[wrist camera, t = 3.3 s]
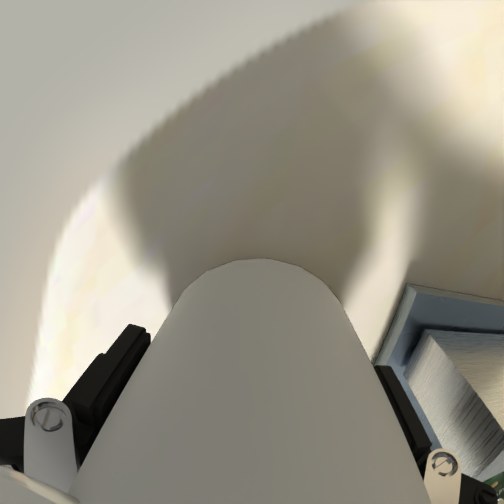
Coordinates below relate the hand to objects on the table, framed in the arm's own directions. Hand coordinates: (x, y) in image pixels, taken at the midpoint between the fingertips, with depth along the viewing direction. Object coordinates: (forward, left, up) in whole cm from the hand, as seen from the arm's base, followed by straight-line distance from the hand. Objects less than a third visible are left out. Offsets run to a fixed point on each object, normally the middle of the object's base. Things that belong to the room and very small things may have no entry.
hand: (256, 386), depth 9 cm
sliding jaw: (-1, +13, -2) cm, 13 cm away
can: (0, 0, -4) cm, 4 cm away
